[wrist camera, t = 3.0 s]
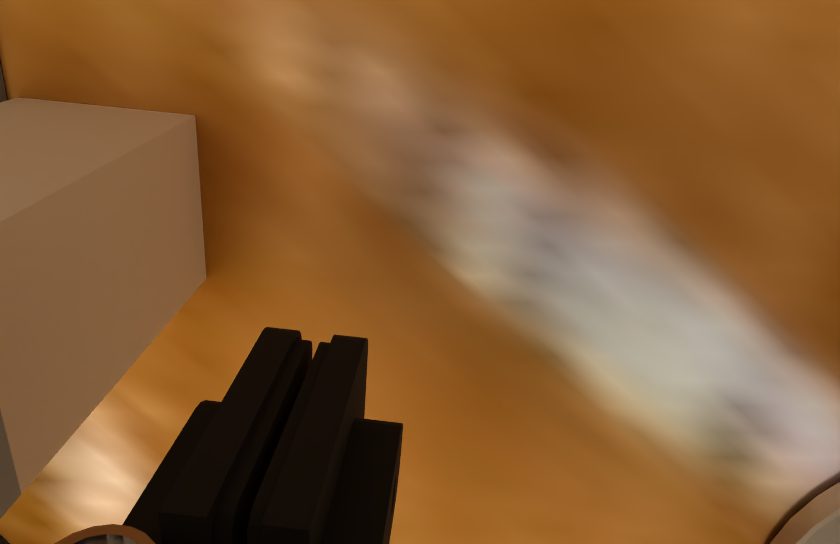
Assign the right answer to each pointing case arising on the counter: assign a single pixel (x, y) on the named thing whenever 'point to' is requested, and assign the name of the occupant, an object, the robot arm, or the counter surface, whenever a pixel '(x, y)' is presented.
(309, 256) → the counter surface
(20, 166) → the block
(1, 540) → the phone
